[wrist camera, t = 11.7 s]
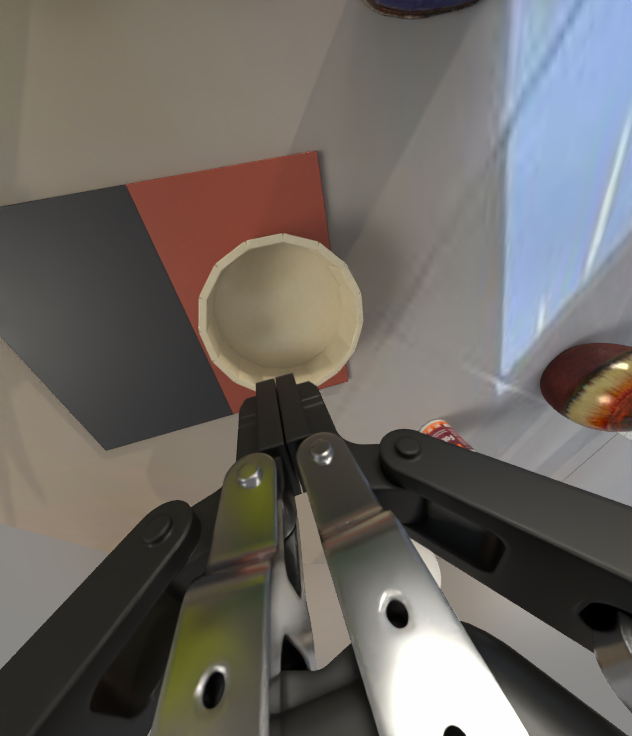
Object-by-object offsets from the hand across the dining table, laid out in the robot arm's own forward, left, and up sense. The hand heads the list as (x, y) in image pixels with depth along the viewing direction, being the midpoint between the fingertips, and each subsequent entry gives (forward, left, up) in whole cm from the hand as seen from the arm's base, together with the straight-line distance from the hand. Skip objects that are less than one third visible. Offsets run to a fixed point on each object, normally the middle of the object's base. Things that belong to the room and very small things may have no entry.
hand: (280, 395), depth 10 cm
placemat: (-6, 0, -14) cm, 15 cm away
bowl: (+1, 0, -14) cm, 14 cm away
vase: (+39, -19, -14) cm, 46 cm away
